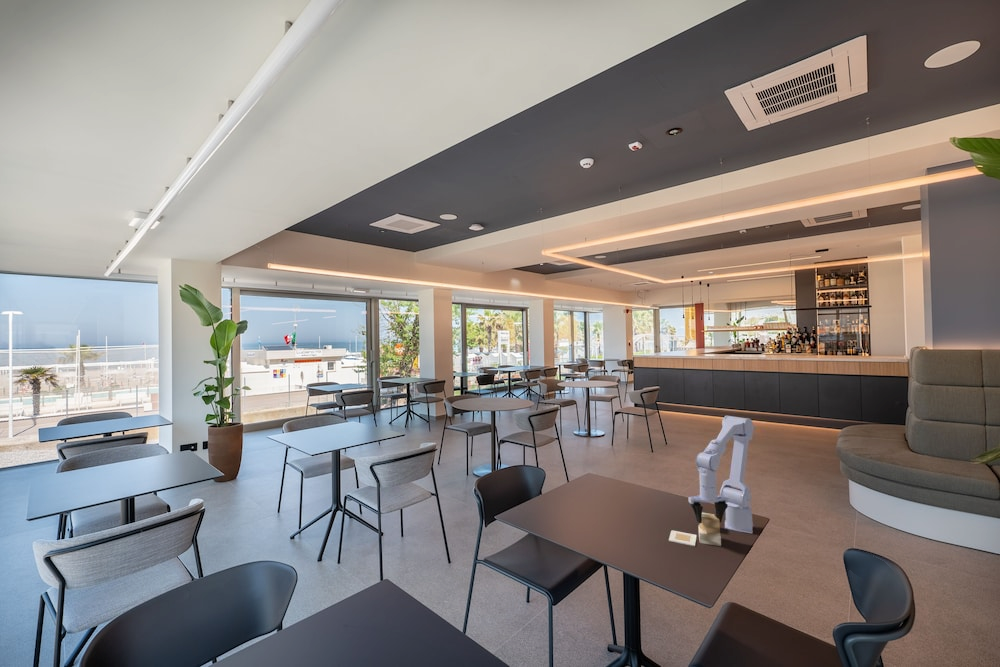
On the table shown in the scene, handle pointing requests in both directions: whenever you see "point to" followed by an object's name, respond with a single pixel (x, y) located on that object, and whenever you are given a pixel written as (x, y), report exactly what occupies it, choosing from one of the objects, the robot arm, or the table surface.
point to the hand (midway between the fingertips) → (709, 521)
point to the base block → (709, 538)
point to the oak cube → (710, 524)
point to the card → (682, 538)
